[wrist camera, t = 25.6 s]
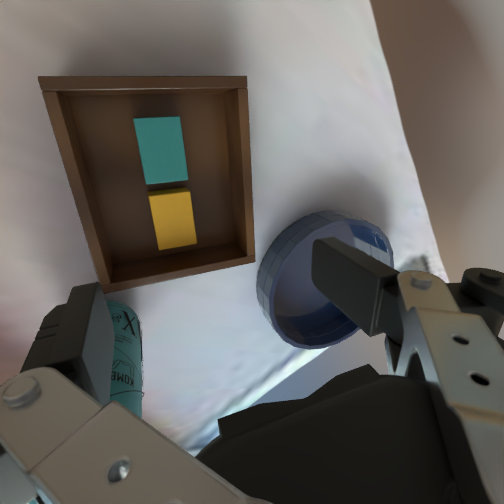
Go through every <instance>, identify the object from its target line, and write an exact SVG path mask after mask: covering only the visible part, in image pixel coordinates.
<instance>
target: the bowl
mask: <svg viewBox="0 0 504 504" xmlns="http://www.w3.org/2000/svg"><path fill="white" fill-rule="evenodd" d="M331 236H334V237H336V238H337V239H339V240H341V241H343V242H344V243H346V244H348V245H349V246H351V247H354V248H358V249H360V250H361V251H363V252H365V253H367V254H368V255H370V256H372V257H374V258H376V260H379V261H381V262H383V263H384V264H386V265H388V266H390V267H391V268H393V269H394V262H393V251H392V248H391V245H390V243H389V240H388V238H387V237H386V236H385V234H384V233H383V232H382V231H381V230H380V229H379V228H378V227H377V226H375V225H373V224H371V223H369V222H367V221H365V220H363V219H360V218H358V217H355V216H353V215H350V214H348V213H343V212H339V211H322V212H317V213H313V214H311V215H308V216H305V217H303V218H301V219H300V220H298V221H296V222H295V223H293V224H292V225H290V226H289V227H288V228H287V229H285V230H284V231H283V232H282V233H281V234H280V235H279V236H278V237H277V238H276V239H275V241H274V242H273V243H272V245H271V246H270V248H269V249H268V251H267V253H266V254H265V256H264V258H263V261H262V263H261V265H260V269H259V272H258V277H257V299H258V302H259V306H260V308H261V310H262V312H263V314H264V316H265V317H266V319H267V320H268V322H269V323H270V324H271V326H272V327H273V329H274V330H275V331H276V333H277V334H278V335H279V336H280V337H281V338H282V340H283V341H285V342H287V343H289V344H291V345H292V346H294V347H298V348H303V349H309V350H310V349H321V348H326V347H329V346H332V345H335V344H338V343H340V342H341V341H343V340H345V339H346V338H348V337H350V336H352V335H353V334H354V333H356V332H357V331H358V330H359V329H361V328H359V327H358V326H357V325H356V324H355V323H354V322H353V321H352V320H351V319H350V318H348V317H347V316H346V315H345V314H344V313H343V312H342V311H341V310H340V309H339V308H338V307H336V306H335V305H334V304H333V303H332V302H331V301H330V300H329V299H328V298H327V297H325V296H324V295H323V294H322V293H321V292H320V291H319V290H318V289H317V288H316V287H315V286H314V284H313V282H312V278H311V263H312V245H313V242H314V240H316V239H320V238H325V237H331Z"/></svg>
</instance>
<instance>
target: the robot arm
mask: <svg viewBox="0 0 504 504" xmlns="http://www.w3.org/2000/svg"><path fill="white" fill-rule="evenodd" d="M311 278H312V282H313V284H314V286H315V287H316V288H317V289H318V290H319V291H320V292H321V293H322V294H323V295H324V296H325V297H327V298H328V299H329V300H330V301H331V302H332V303H333V304H334V305H335V306H336V307H338V308H339V309H340V310H341V311H342V312H343V313H344V314H345V315H346V316H347V317H348V318H350V319H351V320H352V321H353V322H354V323H355V324H356V325H357V326H358V327H359V328H361V329H362V330H363V331H364V332H365V333H366V334H367V335H368V336H369V337H371V336H375V335H378V334H380V333H385V334H386V337H385V349H386V356H387V362H388V368H389V375H379V374H378V373H377V372H376V371H375V369H374V368H372V366H371V365H369V364H367V365H364V366H361V367H359V368H356V369H353V370H351V371H348V372H345V373H342V374H340V375H337V376H335V377H334V378H333V379H331V380H330V381H329V382H327V383H326V384H325V385H323V386H322V387H321V388H319V389H318V390H316V391H315V392H314V393H312V394H311V395H310V396H308V397H306V398H304V399H297V400H288V401H280V402H271V403H262V404H258V405H255V406H252V407H250V408H247V409H244V410H242V411H239V412H236V413H233V414H231V415H228V416H225V417H222V418H220V419H218V426H219V433H220V435H219V436H218V437H216V438H215V439H213V440H212V441H211V442H210V443H209V444H208V445H207V446H205V447H204V448H203V449H202V450H201V451H200V452H199V453H198V455H197V456H196V457H193V456H192V455H191V454H189V453H188V452H187V451H185V450H184V449H182V448H181V447H180V446H178V445H177V444H176V443H174V442H173V441H171V440H170V439H169V438H167V437H166V436H165V435H163V434H162V433H160V432H159V431H158V430H156V429H155V428H154V427H152V426H151V425H149V424H148V423H147V422H145V421H144V420H143V419H141V418H140V417H139V416H137V415H136V414H134V413H133V412H132V411H130V410H129V409H128V408H126V407H125V406H123V405H122V404H121V403H119V402H117V401H114V400H111V401H110V402H109V398H110V386H111V374H112V362H113V350H114V328H113V323H112V319H111V316H110V312H109V309H108V306H107V303H106V299H105V296H104V293H103V290H102V287H101V284H100V283H99V282H95V283H90V284H85V285H80V286H75V287H73V288H72V290H71V293H70V296H69V299H68V301H67V304H62V305H58V306H56V307H55V308H54V309H53V310H52V311H50V312H49V313H48V314H47V315H46V316H45V317H44V319H43V322H42V324H41V326H40V328H39V329H40V331H38V333H37V335H36V337H35V341H34V342H33V344H32V346H31V349H30V351H29V353H28V355H27V358H26V360H25V362H24V364H23V367H22V369H21V371H20V373H19V374H18V375H16V376H14V377H12V378H10V379H8V380H7V381H5V382H4V383H2V384H1V385H0V504H28V503H29V502H31V501H32V500H35V501H36V502H37V503H38V504H504V340H502V339H500V338H499V337H498V334H499V332H500V329H501V327H502V324H503V322H504V273H502V272H499V271H495V270H491V269H486V268H470V269H467V270H465V271H464V274H463V277H462V281H461V283H445V282H444V281H443V280H442V279H441V278H439V277H437V276H435V275H433V274H430V273H427V272H422V271H414V270H411V271H403V272H401V273H400V272H398V271H397V270H395V269H393V268H391V267H390V266H388V265H386V264H384V263H383V262H381V261H379V260H376V258H374V257H372V256H370V255H368V254H367V253H365V252H363V251H361V250H360V249H358V248H354V247H351V246H349V245H348V244H346V243H344V242H343V241H341V240H339V239H337V238H336V237H334V236H331V237H325V238H320V239H316V240H314V242H313V245H312V263H311Z"/></svg>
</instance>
